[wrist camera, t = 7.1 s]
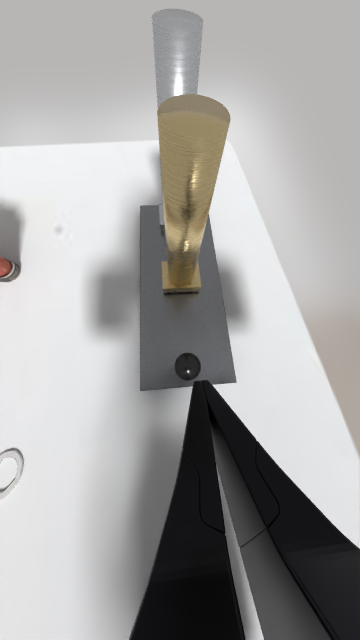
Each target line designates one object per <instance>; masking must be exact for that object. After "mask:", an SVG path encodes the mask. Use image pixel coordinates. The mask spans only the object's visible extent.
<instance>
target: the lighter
mask: <svg viewBox="0 0 360 640" xmlns="http://www.w3.org/2000/svg"><path fill="white" fill-rule="evenodd" d="M20 272H21V269H20V267H19V266H18V265H16V264H15V263H13V262H11V261H10V260H7V259H4V258H2V257H0V282H11V281H13V280H15V279H16V278H17V277H18V276H19V275H20Z"/></svg>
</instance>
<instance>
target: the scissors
mask: <svg viewBox="0 0 360 640" xmlns="http://www.w3.org/2000/svg"><path fill="white" fill-rule="evenodd" d="M9 457H10V458H14V459H15V460H16V462H17V466H18V467H17V473H16V477H15V480H14V481H13V482H12V483H11V485H10V486H9V487H8V488H7V489H6V490H5V491H1V492H0V500H1V499H3V498H4V497H5V496H7V495H8V494H9V493H10V492H11V491H12V489H13V488H14V487H15V486H16V485H17V483H18V482H19V480H20V478H21V476H22V472H23V467H24V461H23V457H22V455H21V454H20V453H19V452H18V451H17V450H10V451H6V452H4V453H3V454H2V455H0V463H1V461H2V460H3V459H4V458H9Z"/></svg>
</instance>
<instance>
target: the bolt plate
mask: <svg viewBox="0 0 360 640" xmlns="http://www.w3.org/2000/svg"><path fill="white" fill-rule="evenodd" d="M152 23H153V39H154V54H155V71H156V87H157V102H158V108H159V106H160V104H161V103H162V102H163V101H165V100H166V99H168V98H170V97H173V96H177V95H183V94H195V95H197V85H198V75H199V64H200V52H201V40H202V29H203V19H202V18H201V17H200V16H199V15H197V14H195V13H193V12H190V11H186V10H180V9H164V10H160V11H157V12H155V13H154V14H153V15H152ZM163 261H167V250H166V235H165V220H164V205H163V204H159V205H153V206H140V391H145V390H156V389H168V388H179V387H190V386H193V383H194V381H199V380H200V381H201V380H208V381H209V382H210V383H211V384H212V385H213V384H225V383H236V376H235V370H234V364H233V358H232V352H231V346H230V340H229V334H228V328H227V322H226V316H225V310H224V304H223V298H222V291H221V285H220V279H219V273H218V267H217V261H216V255H215V249H214V243H213V237H212V231H211V225H210V219H209V213H208V217H207V221H206V226H205V230H204V234H203V239H202V243H201V247H200V251H199V256H198V264H199V272H200V280H201V289H200V291H191V292H171V293H163V284H162V262H163Z"/></svg>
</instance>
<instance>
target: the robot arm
mask: <svg viewBox="0 0 360 640" xmlns="http://www.w3.org/2000/svg"><path fill="white" fill-rule="evenodd" d="M215 460H216V461H215ZM216 464H217V467H218V471H219V475H220V478H221V482H222V486H223V489H224V493H225V497H226V500H227V504H228V508H229V511H230V515H231V519H232V523H233V526H234V530H235V534H236V537H237V541H238V545H239V548H240V552H241V556H242V560H243V563H244V567H245V571H246V574H247V578H248V582H249V585H250V589H251V593H252V596H253V600H254V604H255V607H256V611H257V615H258V618H259V622H260V626H261V630H262V633H263V637H264V640H360V549H359V548H358V547H357V546H356V545H355V544H353V543H352V542H351V541H350V540H349V539H348V538H347V537H346V536H344V535H343V534H342V533H341V532H340V531H339V530H338V529H337V528H336V527H335V526H334V525H333V524H332V523H331V522H330V521H329V520H328V519H327V517H326V516H325V515H324V514H323V513H322V512H321V511H320V510H319V509H318V508H317V507H316V506H315V505H314V504H313V503H312V502H311V500H310V499H309V498H308V497H307V496H306V495H305V494H304V493H303V492H302V491H301V490H300V489H299V488H298V487H297V486H296V484H295V483H294V482H293V481H292V480H291V479H290V478H289V477H288V476H287V475H286V474H285V473H284V471H283V470H282V469H281V468H280V467H279V466H278V465H277V464H276V463H275V461H274V460H273V459H272V458H271V457H270V455H269V454H268V453H267V452H266V451H265V450H264V448H263V447H262V446H261V445H260V443H259V442H258V441H256V438H255V437H254V436H253V435H252V434H251V432H250V431H249V430H248V429H247V427H246V426H245V425H244V424H243V422H242V421H241V420H240V419H239V417H238V416H237V415H236V414H235V413H234V411H233V410H232V409H231V408H230V406H229V405H228V404H227V403H226V401H225V400H224V399H223V398H222V396H221V395H220V394H219V393H218V392H217V390H216V389H215V388H214V387H213V385H212V384H211V383H210V382H209V381H208V380H201V381H200V380H199V381H194V383H193V389H192V394H191V400H190V406H189V412H188V418H187V424H186V430H185V436H184V441H183V447H182V453H181V458H180V464H179V469H178V474H177V478H176V482H175V486H174V490H173V494H172V498H171V502H170V505H169V509H168V513H167V516H166V520H165V524H164V527H163V531H162V534H161V538H160V542H159V545H158V549H157V553H156V556H155V560H154V563H153V566H152V570H151V573H150V576H149V580H148V583H147V586H146V589H145V592H144V595H143V598H142V601H141V604H140V607H139V611H138V614H137V617H136V620H135V623H134V626H133V629H132V632H131V635H130V638H129V640H246V639H245V634H244V629H243V625H242V620H241V615H240V610H239V605H238V600H237V595H236V591H235V586H234V581H233V576H232V571H231V565H230V559H229V553H228V546H227V540H226V535H225V525H224V518H223V511H222V504H221V497H220V489H219V482H218V475H217V468H216Z"/></svg>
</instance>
